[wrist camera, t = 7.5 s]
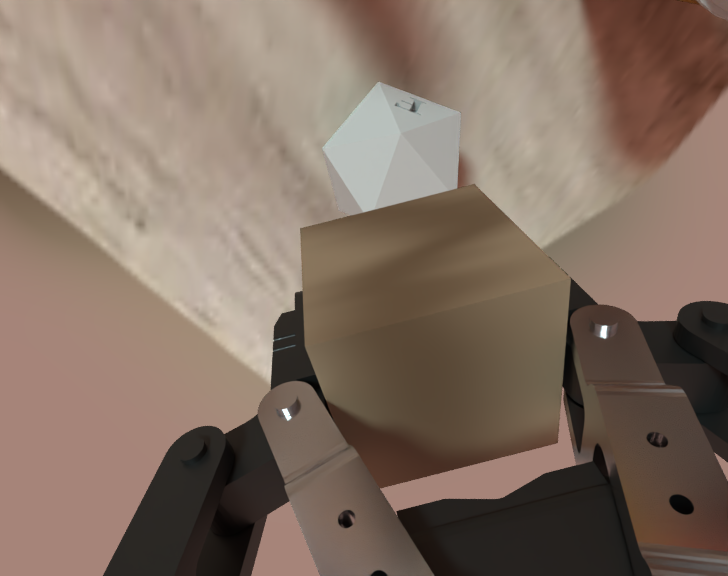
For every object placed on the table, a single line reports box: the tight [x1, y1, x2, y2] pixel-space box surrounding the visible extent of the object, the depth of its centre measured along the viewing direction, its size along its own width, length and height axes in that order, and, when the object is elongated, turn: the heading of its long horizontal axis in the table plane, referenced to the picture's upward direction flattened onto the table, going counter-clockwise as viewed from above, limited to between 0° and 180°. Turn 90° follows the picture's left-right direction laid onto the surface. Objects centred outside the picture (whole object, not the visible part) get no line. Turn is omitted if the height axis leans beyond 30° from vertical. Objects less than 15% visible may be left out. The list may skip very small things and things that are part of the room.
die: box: [322, 81, 461, 215], centre depth 27 cm, size 8×9×10 cm
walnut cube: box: [300, 184, 571, 488], centre depth 11 cm, size 5×5×5 cm
